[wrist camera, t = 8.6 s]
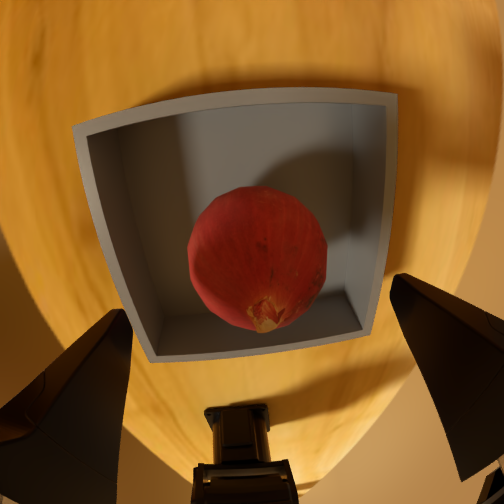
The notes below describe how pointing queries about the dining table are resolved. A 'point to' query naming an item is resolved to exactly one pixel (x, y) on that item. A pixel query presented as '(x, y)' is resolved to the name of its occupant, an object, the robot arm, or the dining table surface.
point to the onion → (257, 258)
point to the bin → (229, 178)
